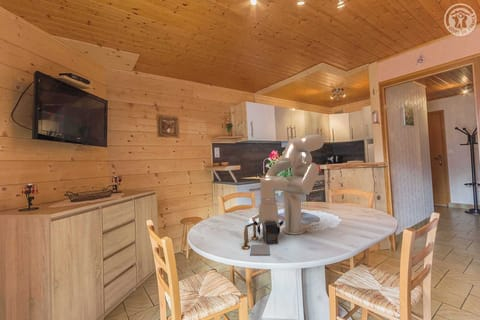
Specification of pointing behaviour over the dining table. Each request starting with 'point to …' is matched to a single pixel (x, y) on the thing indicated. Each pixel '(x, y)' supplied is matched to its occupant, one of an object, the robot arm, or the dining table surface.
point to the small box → (270, 232)
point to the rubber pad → (260, 250)
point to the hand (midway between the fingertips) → (268, 233)
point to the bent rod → (247, 236)
